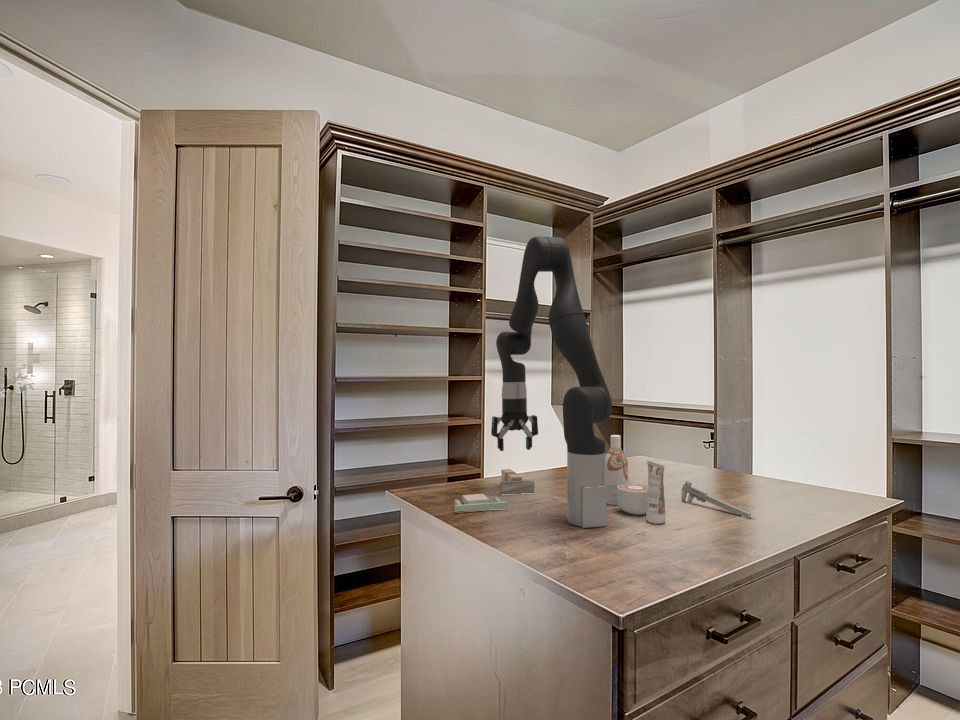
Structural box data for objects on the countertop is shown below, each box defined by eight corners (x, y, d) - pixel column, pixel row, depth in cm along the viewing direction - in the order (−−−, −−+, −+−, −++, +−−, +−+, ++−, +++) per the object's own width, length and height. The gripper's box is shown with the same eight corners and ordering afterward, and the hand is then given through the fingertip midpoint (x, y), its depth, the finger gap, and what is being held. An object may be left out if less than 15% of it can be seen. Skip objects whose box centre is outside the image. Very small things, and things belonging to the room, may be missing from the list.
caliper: (681, 502, 146) (681, 480, 146) (683, 501, 147) (683, 479, 147) (753, 521, 129) (753, 495, 129) (756, 520, 130) (755, 495, 130)
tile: (489, 508, 141) (489, 499, 141) (467, 510, 139) (467, 500, 139) (483, 502, 147) (483, 493, 147) (462, 504, 145) (462, 495, 145)
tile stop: (507, 510, 138) (507, 502, 138) (455, 513, 135) (455, 506, 135) (500, 504, 144) (500, 496, 144) (451, 507, 140) (451, 500, 140)
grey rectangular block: (534, 494, 155) (534, 477, 155) (502, 496, 153) (502, 479, 153) (520, 484, 168) (520, 468, 168) (490, 485, 165) (490, 470, 165)
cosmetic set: (680, 524, 125) (680, 446, 125) (647, 528, 123) (647, 448, 123) (624, 498, 149) (623, 433, 149) (595, 501, 147) (595, 434, 147)
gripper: (494, 398, 154) (495, 453, 153) (540, 397, 157) (541, 450, 157) (488, 396, 161) (489, 449, 161) (532, 395, 164) (533, 447, 164)
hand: (515, 450), depth 159 cm, fingers open, 8 cm apart
